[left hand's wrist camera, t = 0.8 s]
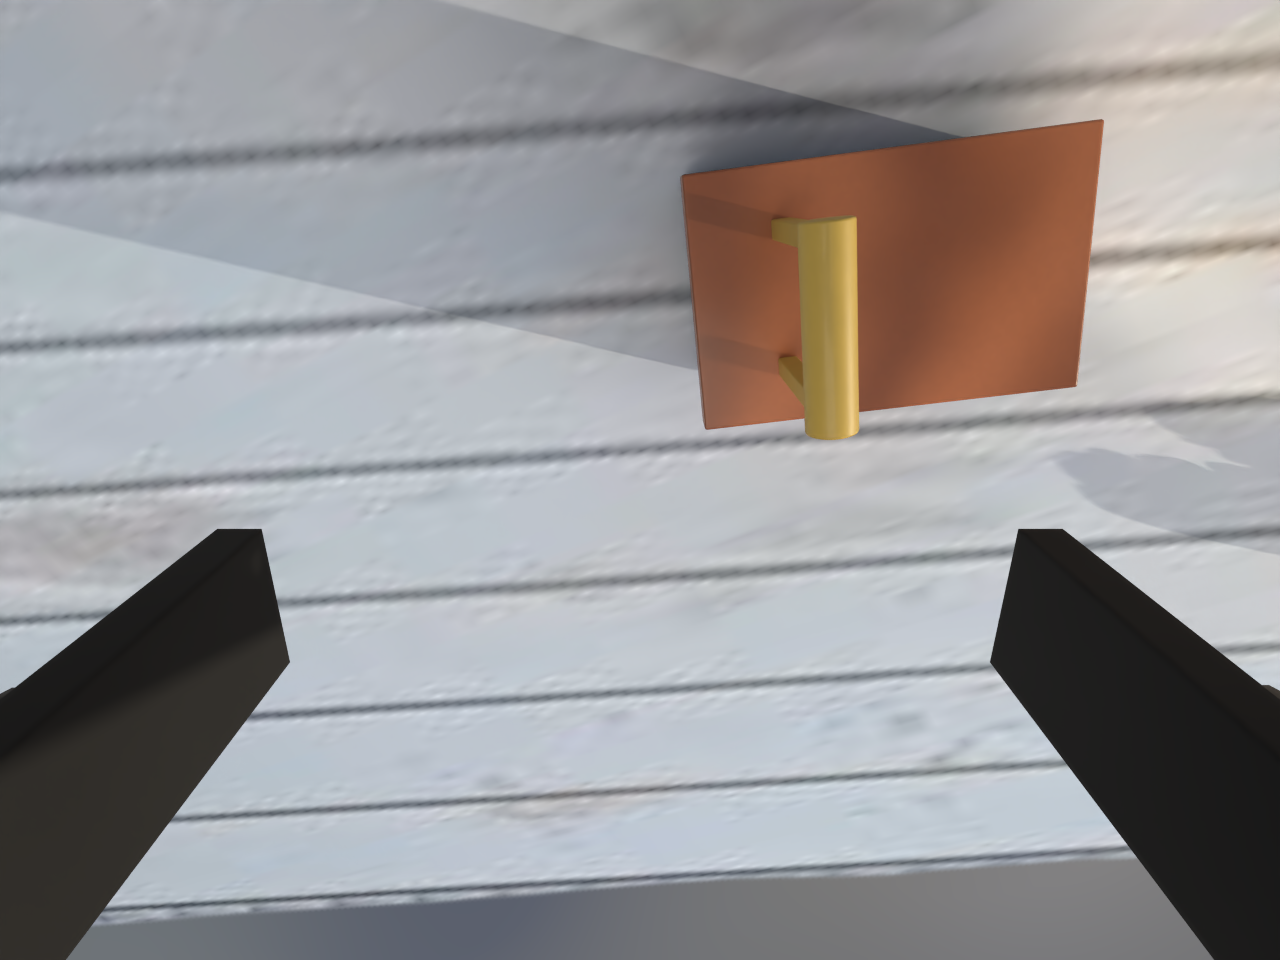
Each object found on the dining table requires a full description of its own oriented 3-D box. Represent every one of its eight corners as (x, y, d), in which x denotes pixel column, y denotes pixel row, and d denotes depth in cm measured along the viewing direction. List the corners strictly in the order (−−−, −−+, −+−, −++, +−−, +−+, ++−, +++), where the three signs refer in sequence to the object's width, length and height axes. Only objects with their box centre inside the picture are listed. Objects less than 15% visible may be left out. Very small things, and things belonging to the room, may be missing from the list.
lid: (702, 422, 29) (726, 506, 21) (679, 175, 26) (697, 165, 18) (1061, 380, 28) (1225, 451, 20) (1085, 121, 25) (1293, 86, 17)
